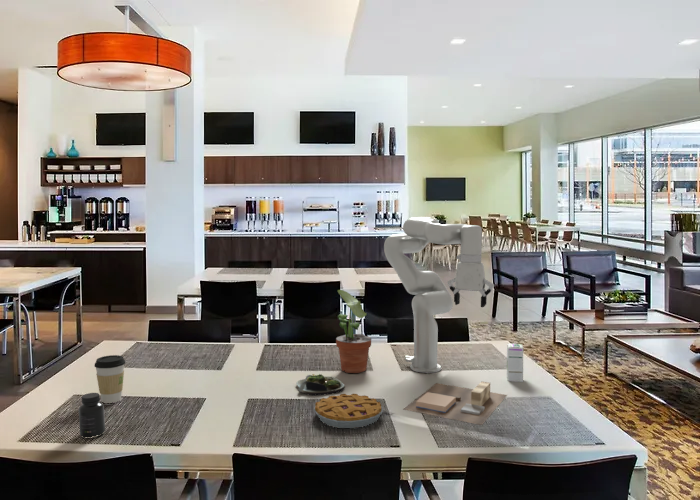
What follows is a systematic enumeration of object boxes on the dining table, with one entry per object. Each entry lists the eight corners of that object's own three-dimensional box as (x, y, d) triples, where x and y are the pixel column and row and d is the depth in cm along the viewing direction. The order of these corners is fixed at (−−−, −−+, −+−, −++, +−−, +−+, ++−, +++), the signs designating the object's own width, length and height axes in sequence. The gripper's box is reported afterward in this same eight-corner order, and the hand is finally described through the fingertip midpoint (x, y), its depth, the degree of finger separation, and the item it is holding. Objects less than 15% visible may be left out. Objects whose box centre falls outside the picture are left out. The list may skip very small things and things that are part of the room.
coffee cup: (133, 398, 197) (131, 356, 195) (112, 407, 187) (110, 363, 186) (110, 394, 200) (108, 353, 199) (89, 404, 191) (87, 361, 189)
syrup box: (523, 385, 209) (524, 347, 208) (506, 384, 210) (507, 346, 209) (521, 381, 215) (522, 343, 213) (505, 380, 216) (506, 342, 215)
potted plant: (328, 374, 223) (328, 287, 220) (343, 363, 237) (343, 281, 234) (365, 378, 218) (365, 289, 214) (378, 367, 232) (378, 283, 228)
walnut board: (402, 413, 182) (402, 406, 182) (436, 386, 208) (436, 380, 208) (481, 429, 169) (481, 421, 169) (507, 399, 195) (507, 392, 195)
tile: (427, 397, 192) (416, 407, 184) (427, 392, 192) (416, 401, 184) (455, 402, 187) (445, 412, 179) (455, 397, 187) (445, 406, 179)
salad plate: (288, 382, 215) (288, 370, 215) (332, 377, 221) (332, 365, 221) (301, 398, 197) (300, 386, 196) (349, 392, 203) (349, 380, 202)
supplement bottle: (85, 430, 169) (83, 391, 168) (108, 429, 170) (106, 390, 169) (76, 440, 162) (74, 399, 161) (100, 439, 163) (98, 398, 162)
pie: (332, 437, 165) (332, 420, 164) (303, 412, 184) (303, 397, 184) (395, 423, 175) (395, 407, 174) (361, 401, 194) (361, 387, 194)
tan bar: (479, 415, 177) (479, 399, 176) (460, 411, 180) (460, 396, 179) (494, 397, 192) (494, 383, 192) (477, 394, 195) (477, 380, 195)
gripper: (444, 258, 206) (444, 305, 207) (491, 261, 197) (490, 309, 199) (451, 257, 212) (450, 301, 214) (497, 259, 204) (496, 306, 205)
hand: (470, 305), depth 206 cm, fingers open, 9 cm apart
